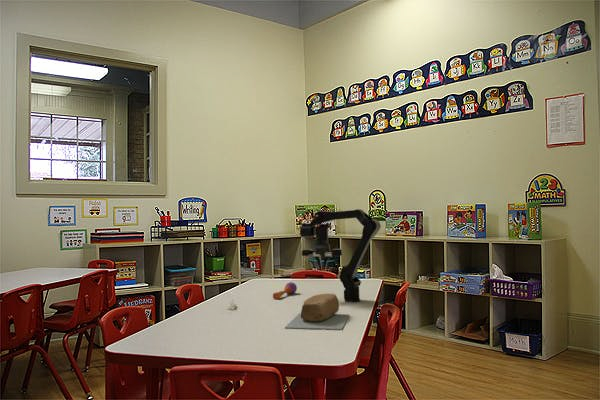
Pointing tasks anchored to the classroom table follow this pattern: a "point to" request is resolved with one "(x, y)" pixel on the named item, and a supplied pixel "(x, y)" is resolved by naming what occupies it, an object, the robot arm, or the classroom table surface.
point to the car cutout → (231, 305)
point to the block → (319, 307)
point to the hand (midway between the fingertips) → (322, 270)
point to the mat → (319, 323)
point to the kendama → (286, 290)
